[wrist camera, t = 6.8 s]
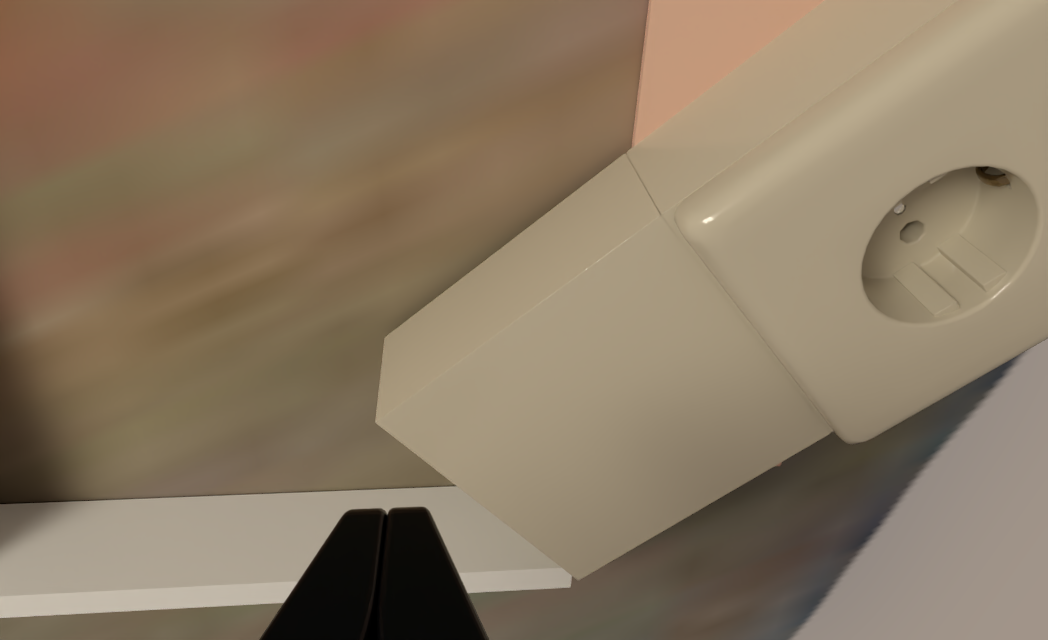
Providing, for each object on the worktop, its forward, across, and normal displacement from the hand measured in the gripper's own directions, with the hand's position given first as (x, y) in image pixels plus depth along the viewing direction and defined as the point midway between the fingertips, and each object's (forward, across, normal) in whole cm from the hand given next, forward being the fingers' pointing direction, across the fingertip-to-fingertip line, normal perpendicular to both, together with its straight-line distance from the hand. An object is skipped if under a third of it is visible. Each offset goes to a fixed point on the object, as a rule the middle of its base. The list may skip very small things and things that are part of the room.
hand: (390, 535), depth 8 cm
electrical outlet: (+10, -8, +1) cm, 13 cm away
